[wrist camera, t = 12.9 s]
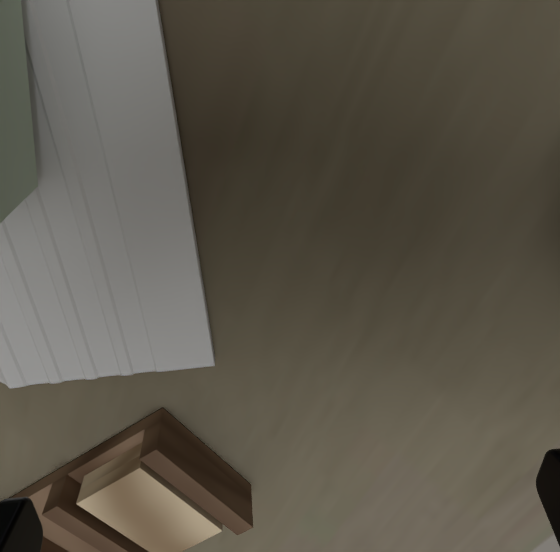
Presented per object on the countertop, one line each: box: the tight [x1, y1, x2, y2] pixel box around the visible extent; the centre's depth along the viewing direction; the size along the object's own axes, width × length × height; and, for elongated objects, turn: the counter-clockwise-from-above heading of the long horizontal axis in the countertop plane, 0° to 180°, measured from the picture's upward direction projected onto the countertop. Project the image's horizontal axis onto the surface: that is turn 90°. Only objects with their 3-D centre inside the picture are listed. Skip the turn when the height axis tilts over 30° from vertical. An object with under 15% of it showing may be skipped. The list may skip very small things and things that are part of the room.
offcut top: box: [76, 456, 222, 552], centre depth 26 cm, size 4×6×1 cm, turn 34°
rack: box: [11, 408, 253, 552], centre depth 27 cm, size 12×8×3 cm, turn 124°
